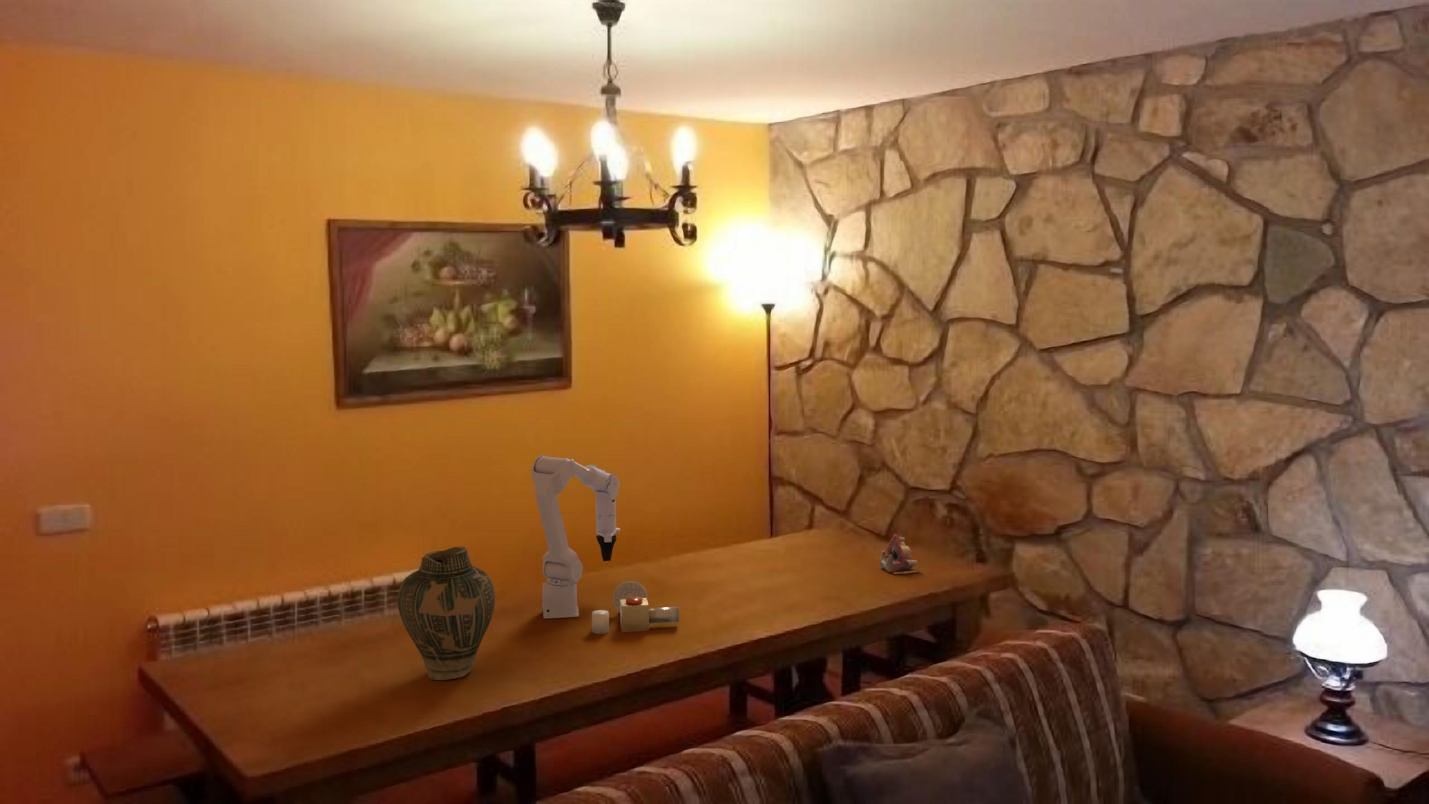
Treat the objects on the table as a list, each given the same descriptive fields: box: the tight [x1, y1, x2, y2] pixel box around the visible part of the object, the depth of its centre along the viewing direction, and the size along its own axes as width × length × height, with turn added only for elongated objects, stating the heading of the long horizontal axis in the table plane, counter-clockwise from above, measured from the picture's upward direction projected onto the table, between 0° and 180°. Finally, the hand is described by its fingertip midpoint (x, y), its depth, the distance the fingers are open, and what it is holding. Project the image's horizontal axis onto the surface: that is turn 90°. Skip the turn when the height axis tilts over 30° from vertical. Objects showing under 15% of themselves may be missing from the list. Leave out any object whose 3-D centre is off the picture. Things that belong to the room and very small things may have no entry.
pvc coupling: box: [591, 609, 610, 635], centre depth 299 cm, size 4×4×5 cm
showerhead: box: [612, 580, 648, 613], centre depth 315 cm, size 9×7×10 cm
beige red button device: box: [619, 597, 680, 633], centre depth 304 cm, size 15×11×8 cm
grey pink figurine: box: [879, 533, 918, 575], centre depth 355 cm, size 11×11×12 cm
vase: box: [397, 546, 496, 681], centre depth 268 cm, size 22×22×30 cm
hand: (606, 560), depth 330 cm, fingers closed
